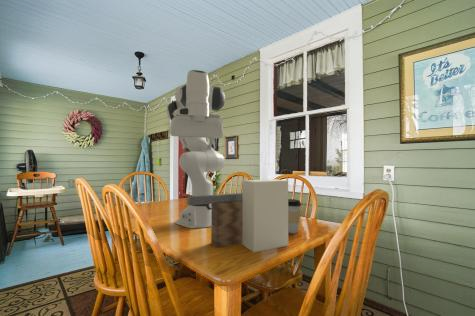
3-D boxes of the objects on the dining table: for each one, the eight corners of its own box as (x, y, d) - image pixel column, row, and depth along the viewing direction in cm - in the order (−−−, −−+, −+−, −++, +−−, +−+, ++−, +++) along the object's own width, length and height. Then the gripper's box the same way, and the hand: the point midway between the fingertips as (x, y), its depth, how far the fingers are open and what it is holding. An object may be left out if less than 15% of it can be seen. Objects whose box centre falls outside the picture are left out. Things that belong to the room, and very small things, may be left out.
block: (216, 247, 93) (216, 203, 93) (211, 243, 98) (211, 201, 99) (248, 242, 99) (248, 201, 100) (241, 238, 105) (241, 199, 105)
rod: (189, 205, 90) (189, 197, 90) (187, 204, 93) (187, 196, 93) (249, 200, 102) (249, 193, 102) (246, 199, 104) (246, 192, 104)
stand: (253, 252, 88) (253, 181, 89) (242, 244, 96) (242, 180, 97) (288, 245, 96) (288, 180, 96) (275, 239, 104) (275, 179, 104)
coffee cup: (302, 235, 110) (302, 202, 110) (281, 233, 111) (281, 201, 112) (300, 229, 119) (300, 199, 119) (281, 228, 121) (281, 198, 121)
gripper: (219, 116, 99) (219, 149, 99) (169, 111, 90) (168, 148, 90) (225, 114, 93) (225, 149, 93) (172, 109, 84) (171, 148, 84)
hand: (197, 149), depth 91 cm, fingers open, 8 cm apart
